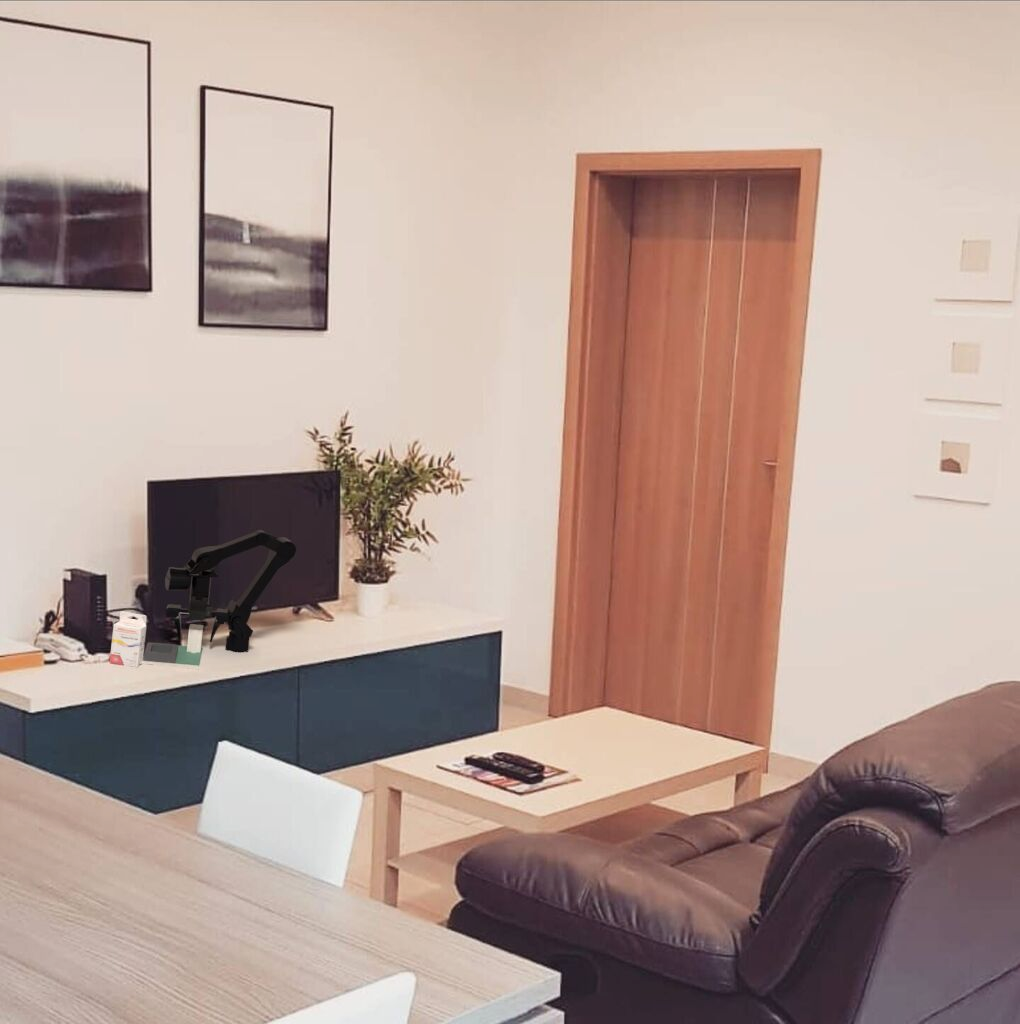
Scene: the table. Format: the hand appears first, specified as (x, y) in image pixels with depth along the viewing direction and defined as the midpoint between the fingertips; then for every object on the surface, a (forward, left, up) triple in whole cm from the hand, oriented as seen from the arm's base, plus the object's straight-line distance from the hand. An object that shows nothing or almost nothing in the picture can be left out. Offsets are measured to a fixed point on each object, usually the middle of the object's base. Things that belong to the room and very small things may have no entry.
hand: (195, 640), depth 464 cm
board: (+6, +7, -4) cm, 10 cm away
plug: (0, 0, -3) cm, 3 cm away
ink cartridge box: (+18, +18, -4) cm, 26 cm away
